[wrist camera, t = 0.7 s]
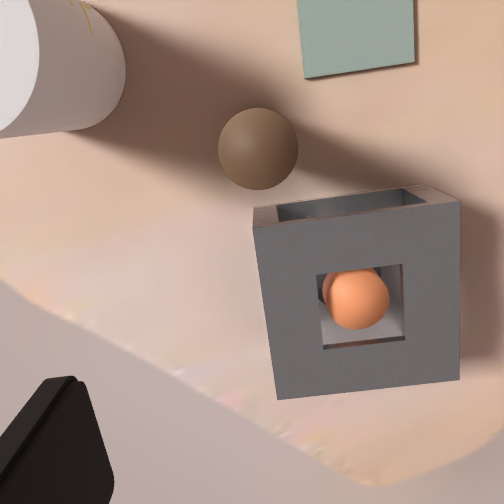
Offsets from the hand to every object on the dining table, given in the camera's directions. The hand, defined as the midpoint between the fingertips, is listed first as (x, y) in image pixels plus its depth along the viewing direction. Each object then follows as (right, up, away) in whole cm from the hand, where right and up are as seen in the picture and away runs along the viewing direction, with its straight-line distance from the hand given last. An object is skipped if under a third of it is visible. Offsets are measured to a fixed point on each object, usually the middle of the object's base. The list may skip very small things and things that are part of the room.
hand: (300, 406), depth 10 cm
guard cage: (+6, +2, +23) cm, 24 cm away
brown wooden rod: (-1, +11, +20) cm, 23 cm away
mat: (+5, +19, +18) cm, 26 cm away
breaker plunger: (+6, +1, +21) cm, 21 cm away
